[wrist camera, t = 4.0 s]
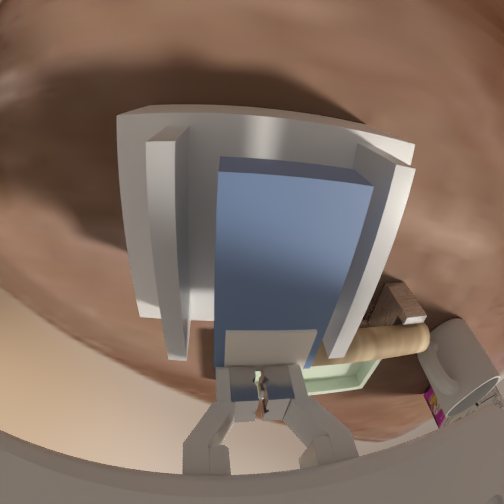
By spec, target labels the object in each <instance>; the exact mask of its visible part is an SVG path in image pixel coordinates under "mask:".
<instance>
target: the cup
mask: <svg viewBox="0 0 504 504" xmlns="http://www.w3.org/2000/svg"><path fill="white" fill-rule="evenodd" d="M417 356H418V360H419V362H420V364H421V366H422V368H423V370H424V372H425V374H426V376H427V378H428V380H429V382H430V384H431V386H432V389H433V391H434V393H435V395H436V397H437V399H438V401H439V404H440V406H441V408H442V410H443V412H444V415H445V417H446V418H450V417H453V416H455V415H458V414H460V413H461V412H463V411H465V410H467V409H468V408H470V407H471V406H473V405H474V404H476V403H477V402H478V401H480V400H481V399H482V398H483V397H484V396H486V395H487V394H488V393H489V392H490V391H491V390H492V389H493V388H494V387H495V386H496V384H497V383H498V382H499V380H500V374H499V373H498V371H497V369H496V368H495V366H494V364H493V363H492V361H491V359H490V358H489V356H488V355H487V353H486V351H485V350H484V348H483V347H482V345H481V344H480V342H479V341H478V339H477V337H476V336H475V334H474V333H473V332H472V330H471V329H470V327H469V326H468V324H467V323H466V322H465V321H464V320H462V319H459V318H454V319H450V320H448V321H446V322H444V323H442V324H441V325H439V326H437V327H436V328H435V329H434V330H432V331H431V332H430V342H429V345H428V347H427V349H426V350H425V351H423V352H419V353H417Z"/></svg>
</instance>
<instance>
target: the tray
mask: <svg viewBox="0 0 504 504" xmlns="http://www.w3.org/2000/svg"><path fill="white" fill-rule="evenodd" d="M380 361H381V359H378V360H370V361H363V362H355V363H346V364H336V365H325V366H313V367H310V368H309V369H301V371H302V375H303V378H304V382H305V386H306V389H307V393H308V395H316V394H325V393H333V392H341V391H348V390H355V389H361V388H363V386H364V385H365V383H366V382H367V380H368V379H369V378H370V376H371V375H372V373H373V372H374V370H375V369H376V367H377V366H378V364H379V362H380ZM255 374H256V377H255V384H256V385H257V389H258V382H259V377H260V376H261V372H260V371H255ZM258 396H259V391H258Z"/></svg>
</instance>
